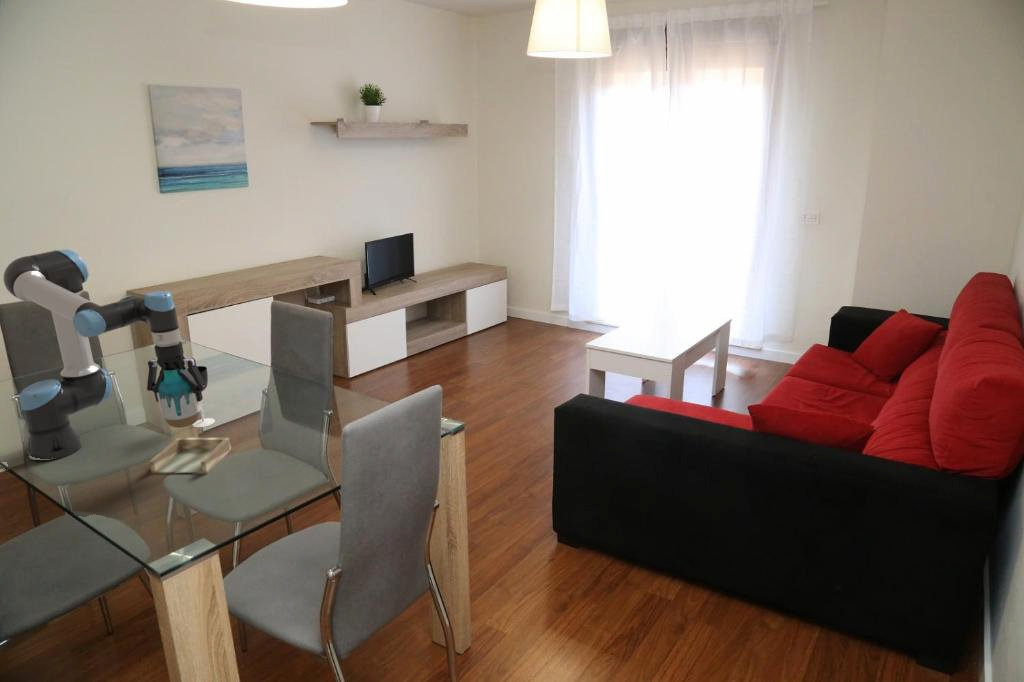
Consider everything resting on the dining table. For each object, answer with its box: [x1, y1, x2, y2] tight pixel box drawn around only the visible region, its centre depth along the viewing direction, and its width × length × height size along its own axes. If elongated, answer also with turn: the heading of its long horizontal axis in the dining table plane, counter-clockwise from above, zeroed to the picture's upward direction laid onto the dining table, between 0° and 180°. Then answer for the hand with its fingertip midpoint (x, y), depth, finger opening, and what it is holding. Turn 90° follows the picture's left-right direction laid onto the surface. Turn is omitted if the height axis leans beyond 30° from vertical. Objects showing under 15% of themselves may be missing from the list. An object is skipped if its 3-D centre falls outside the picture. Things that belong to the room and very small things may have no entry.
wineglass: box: [186, 365, 216, 428], centre depth 246 cm, size 8×9×20 cm
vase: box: [158, 369, 201, 429], centre depth 214 cm, size 11×11×19 cm
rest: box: [148, 437, 232, 475], centre depth 221 cm, size 18×16×4 cm
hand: (181, 410), depth 215 cm, fingers closed on vase, 10 cm apart
